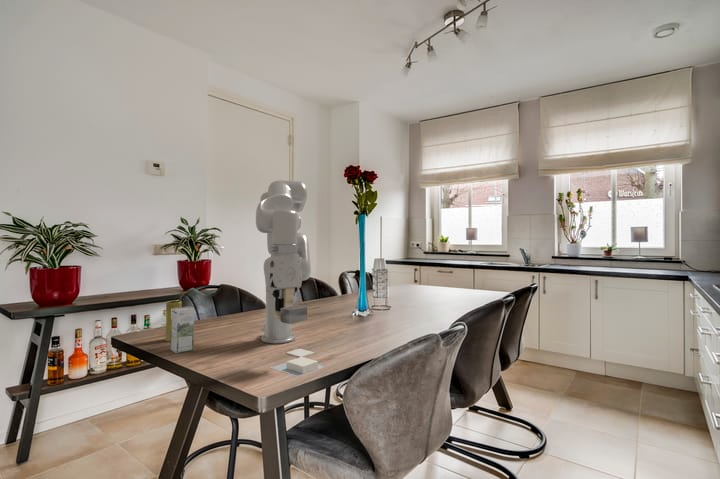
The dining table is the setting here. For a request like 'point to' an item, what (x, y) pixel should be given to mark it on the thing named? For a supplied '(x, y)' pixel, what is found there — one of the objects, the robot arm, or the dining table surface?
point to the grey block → (291, 309)
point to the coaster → (300, 353)
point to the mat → (283, 369)
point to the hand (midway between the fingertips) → (284, 309)
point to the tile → (302, 365)
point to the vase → (168, 317)
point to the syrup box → (182, 329)
